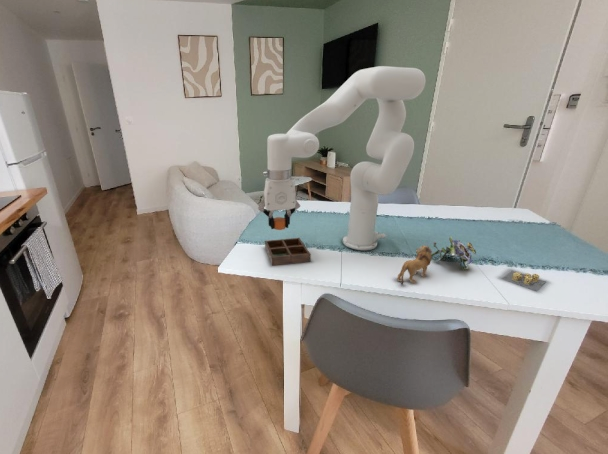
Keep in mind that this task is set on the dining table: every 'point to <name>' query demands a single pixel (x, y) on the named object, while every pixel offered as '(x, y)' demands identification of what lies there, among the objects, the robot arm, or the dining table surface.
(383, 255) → the dining table surface
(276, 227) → the orange short cylinder
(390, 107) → the robot arm
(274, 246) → the grid
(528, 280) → the dice set
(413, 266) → the lion figurine
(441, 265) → the dining table surface
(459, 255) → the passion flower
